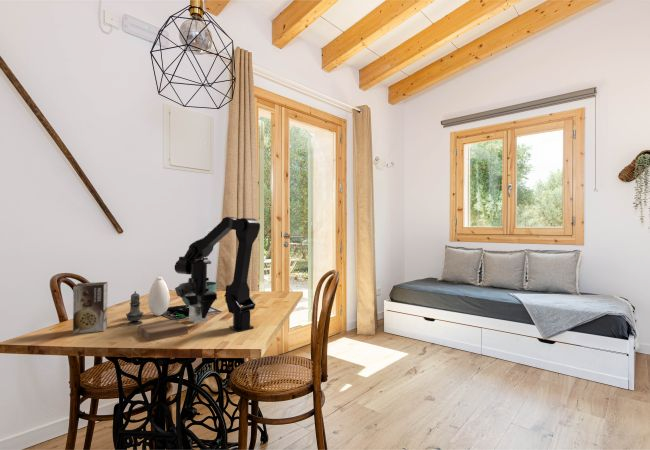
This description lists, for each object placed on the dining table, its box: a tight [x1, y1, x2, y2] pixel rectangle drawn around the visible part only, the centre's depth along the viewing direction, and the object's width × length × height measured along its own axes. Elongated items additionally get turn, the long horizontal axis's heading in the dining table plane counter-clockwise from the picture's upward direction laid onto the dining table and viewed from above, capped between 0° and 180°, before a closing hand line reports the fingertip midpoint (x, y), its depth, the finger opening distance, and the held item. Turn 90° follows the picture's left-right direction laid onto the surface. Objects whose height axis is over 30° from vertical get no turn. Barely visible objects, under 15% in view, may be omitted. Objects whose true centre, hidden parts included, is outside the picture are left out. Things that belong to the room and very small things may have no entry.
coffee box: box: [72, 281, 108, 335], centre depth 123 cm, size 9×6×16 cm
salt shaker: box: [125, 290, 144, 326], centre depth 133 cm, size 6×6×12 cm
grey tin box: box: [188, 304, 208, 324], centre depth 137 cm, size 5×5×6 cm
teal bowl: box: [178, 281, 218, 307], centre depth 160 cm, size 16×16×11 cm
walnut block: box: [137, 319, 189, 342], centre depth 120 cm, size 12×12×3 cm
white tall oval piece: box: [147, 270, 171, 317], centre depth 145 cm, size 8×8×18 cm
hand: (198, 315), depth 137 cm, fingers open, 9 cm apart
